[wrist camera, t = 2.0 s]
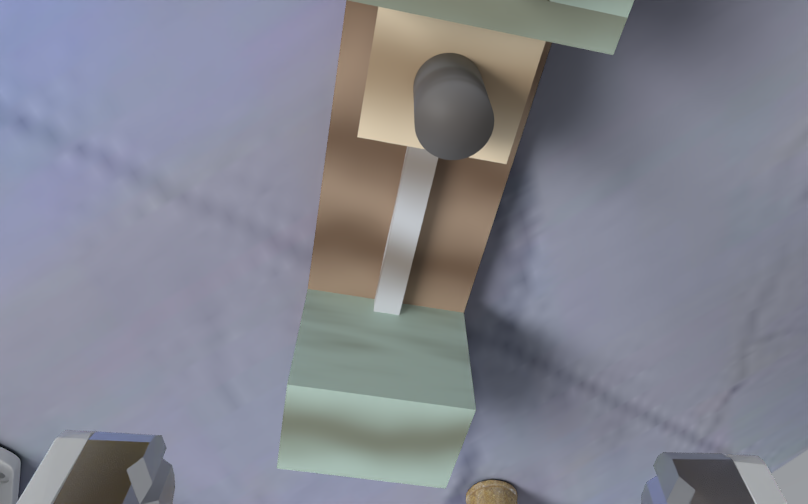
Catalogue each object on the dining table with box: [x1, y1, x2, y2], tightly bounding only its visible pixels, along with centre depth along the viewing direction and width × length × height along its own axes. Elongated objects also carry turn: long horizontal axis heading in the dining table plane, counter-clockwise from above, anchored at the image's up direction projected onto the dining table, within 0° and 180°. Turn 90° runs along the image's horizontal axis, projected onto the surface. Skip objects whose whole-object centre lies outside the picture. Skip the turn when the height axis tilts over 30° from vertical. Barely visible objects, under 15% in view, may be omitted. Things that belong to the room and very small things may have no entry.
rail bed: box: [277, 0, 634, 489], centre depth 30 cm, size 33×10×10 cm, turn 169°
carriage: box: [357, 7, 546, 164], centre depth 26 cm, size 6×7×8 cm
